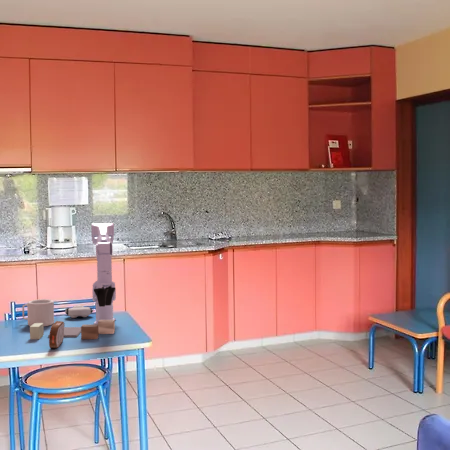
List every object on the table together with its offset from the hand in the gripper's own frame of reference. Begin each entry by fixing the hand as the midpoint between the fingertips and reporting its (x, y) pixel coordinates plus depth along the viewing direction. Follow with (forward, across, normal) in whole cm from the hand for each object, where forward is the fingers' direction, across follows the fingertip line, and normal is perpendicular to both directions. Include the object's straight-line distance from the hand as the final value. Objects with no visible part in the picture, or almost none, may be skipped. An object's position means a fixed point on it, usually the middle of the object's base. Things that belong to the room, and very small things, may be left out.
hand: (105, 306), depth 231 cm
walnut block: (+12, -6, +4) cm, 14 cm away
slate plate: (+10, 0, +16) cm, 19 cm away
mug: (+8, +13, +34) cm, 38 cm away
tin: (+13, -18, +13) cm, 25 cm away
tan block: (+11, +2, 0) cm, 11 cm away
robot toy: (+6, +31, +23) cm, 39 cm away
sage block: (+11, -7, +25) cm, 29 cm away
